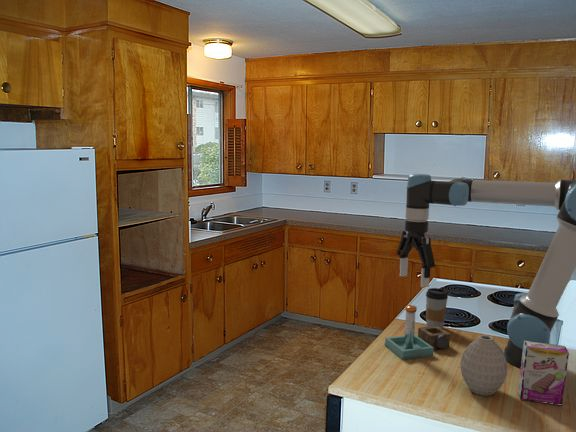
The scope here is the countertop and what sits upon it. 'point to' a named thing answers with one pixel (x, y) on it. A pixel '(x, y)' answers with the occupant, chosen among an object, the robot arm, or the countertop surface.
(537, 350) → the candy bar box
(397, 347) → the tray
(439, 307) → the coffee cup
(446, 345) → the tensioner block
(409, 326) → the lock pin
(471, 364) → the vase
